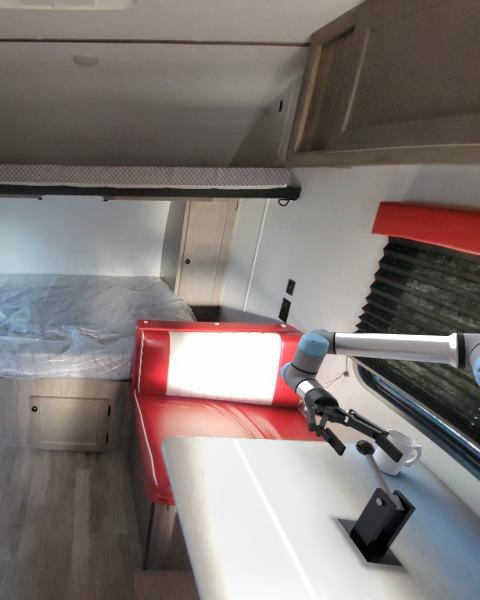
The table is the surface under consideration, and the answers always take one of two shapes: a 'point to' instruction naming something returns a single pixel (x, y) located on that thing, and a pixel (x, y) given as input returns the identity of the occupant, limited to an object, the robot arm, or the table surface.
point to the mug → (404, 446)
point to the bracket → (379, 527)
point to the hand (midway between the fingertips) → (371, 455)
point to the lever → (377, 471)
